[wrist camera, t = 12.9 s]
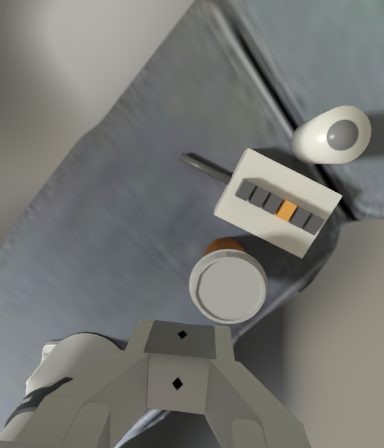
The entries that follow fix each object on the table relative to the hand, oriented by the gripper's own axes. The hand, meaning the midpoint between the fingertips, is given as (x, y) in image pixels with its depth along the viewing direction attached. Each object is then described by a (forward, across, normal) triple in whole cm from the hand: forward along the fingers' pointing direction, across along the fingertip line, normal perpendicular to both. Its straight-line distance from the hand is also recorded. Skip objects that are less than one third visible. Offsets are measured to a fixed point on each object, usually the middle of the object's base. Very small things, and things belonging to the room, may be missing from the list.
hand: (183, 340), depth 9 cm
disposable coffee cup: (+33, -4, +8) cm, 34 cm away
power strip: (+32, -7, -3) cm, 33 cm away
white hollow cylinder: (+32, -15, -10) cm, 37 cm away
